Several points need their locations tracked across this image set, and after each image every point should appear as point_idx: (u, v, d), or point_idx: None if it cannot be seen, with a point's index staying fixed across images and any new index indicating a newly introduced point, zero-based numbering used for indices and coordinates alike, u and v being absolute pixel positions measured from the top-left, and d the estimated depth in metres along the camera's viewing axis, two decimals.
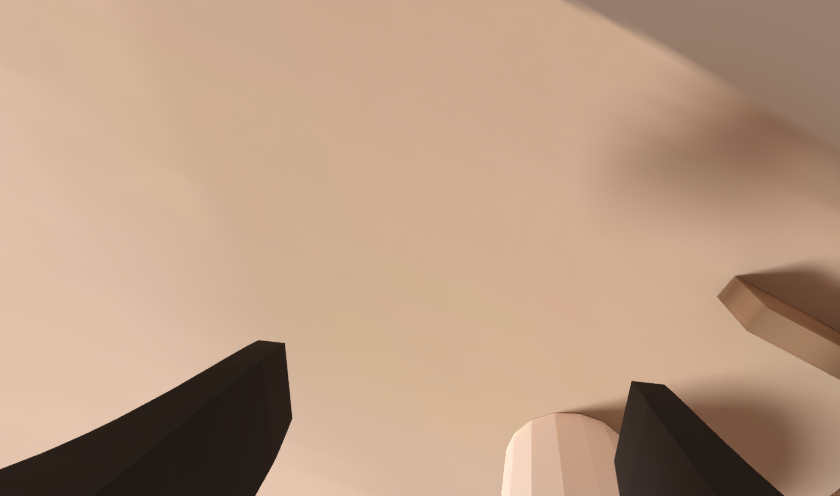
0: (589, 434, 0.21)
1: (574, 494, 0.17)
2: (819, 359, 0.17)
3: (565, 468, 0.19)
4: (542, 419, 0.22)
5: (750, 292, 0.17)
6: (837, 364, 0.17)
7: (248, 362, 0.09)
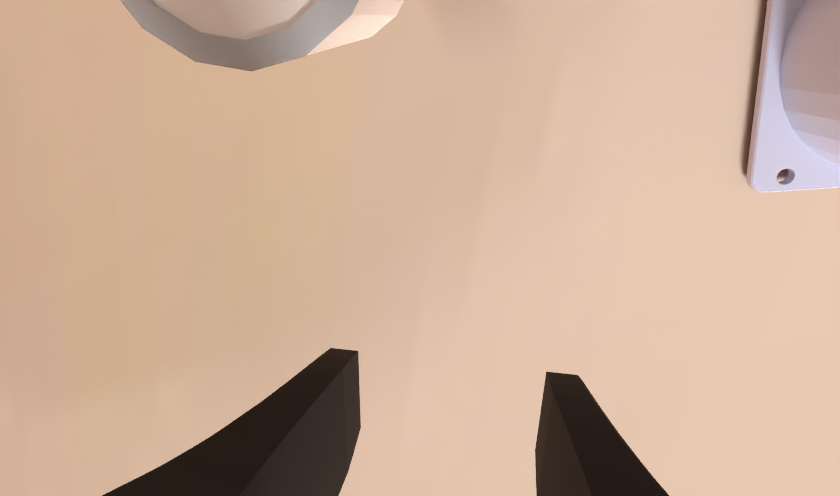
0: None
1: None
2: None
3: None
4: None
5: None
6: None
7: (329, 372, 0.09)
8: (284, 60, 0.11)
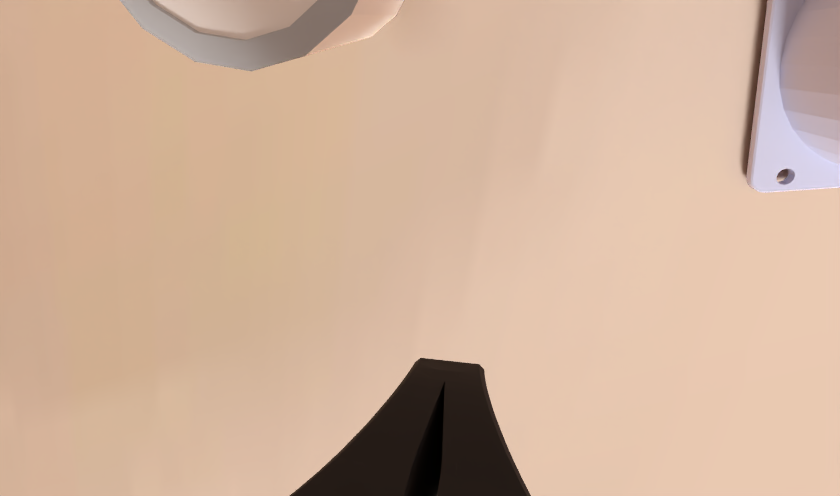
0: None
1: None
2: None
3: None
4: None
5: None
6: None
7: (432, 384, 0.09)
8: (283, 60, 0.11)
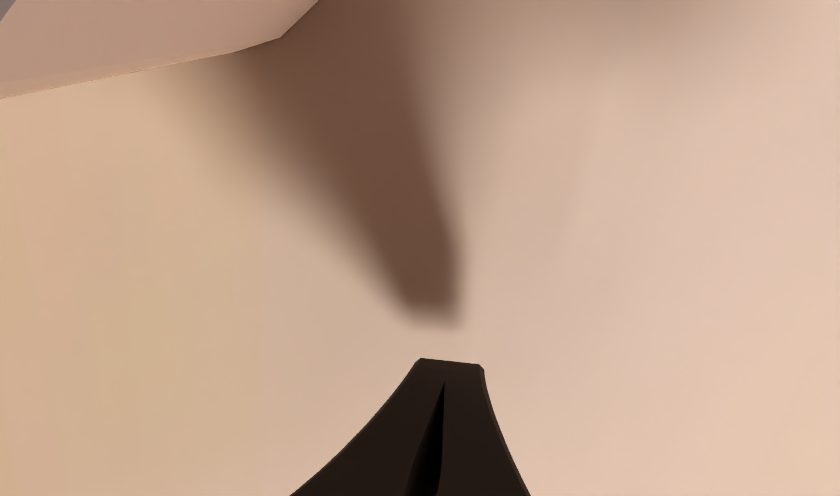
0: None
1: None
2: None
3: None
4: None
5: None
6: None
7: (432, 384, 0.09)
8: None
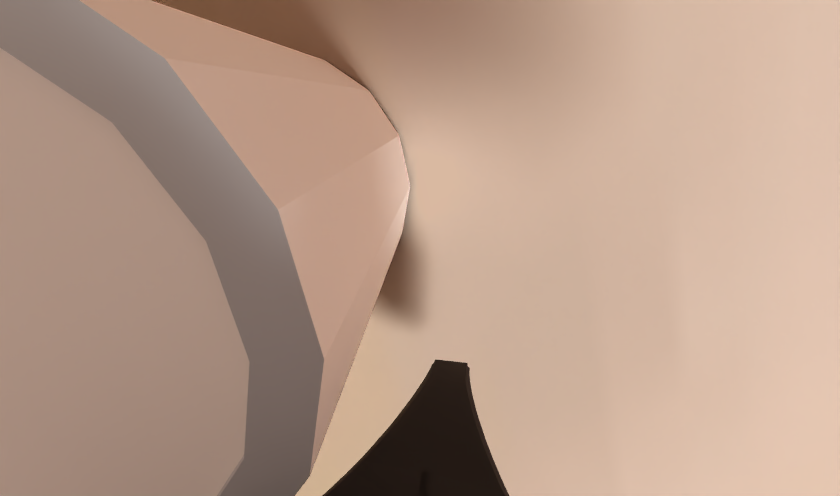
0: None
1: None
2: None
3: None
4: None
5: None
6: None
7: (452, 386, 0.09)
8: None
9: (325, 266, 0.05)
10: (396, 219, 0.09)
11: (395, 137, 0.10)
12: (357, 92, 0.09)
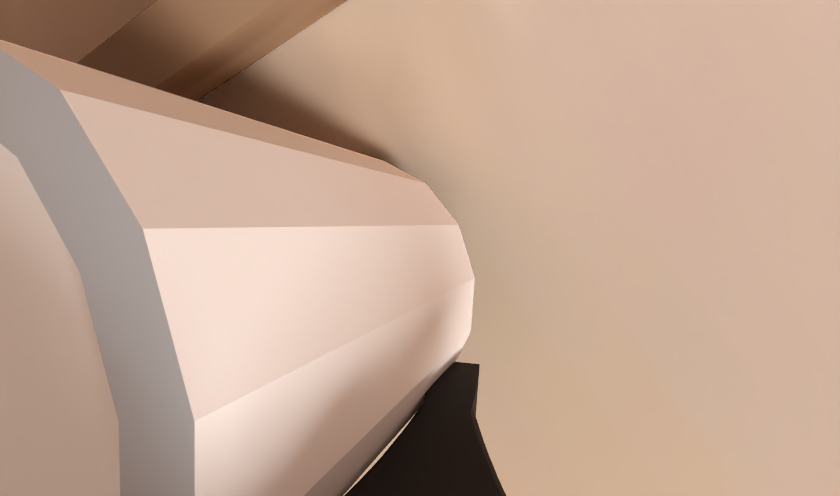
0: None
1: None
2: None
3: None
4: None
5: None
6: None
7: (465, 387, 0.09)
8: None
9: (239, 312, 0.04)
10: (439, 306, 0.08)
11: (449, 224, 0.09)
12: (402, 180, 0.09)
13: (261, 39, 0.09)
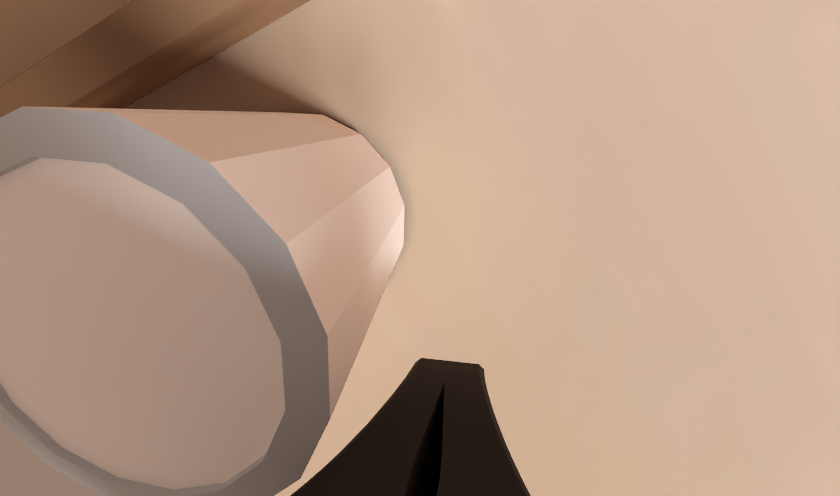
0: None
1: None
2: None
3: None
4: None
5: None
6: None
7: (432, 384, 0.09)
8: (278, 489, 0.08)
9: (324, 275, 0.07)
10: (391, 235, 0.11)
11: (385, 169, 0.12)
12: (349, 139, 0.11)
13: (246, 20, 0.11)
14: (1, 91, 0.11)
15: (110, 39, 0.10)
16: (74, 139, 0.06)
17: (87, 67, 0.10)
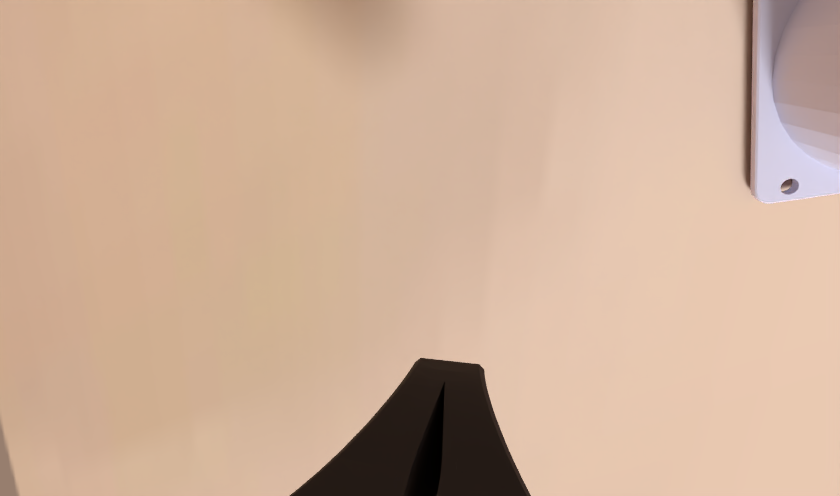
0: None
1: None
2: None
3: None
4: None
5: None
6: None
7: (432, 384, 0.09)
8: None
9: None
10: None
11: None
12: None
13: None
14: None
15: None
16: None
17: None
